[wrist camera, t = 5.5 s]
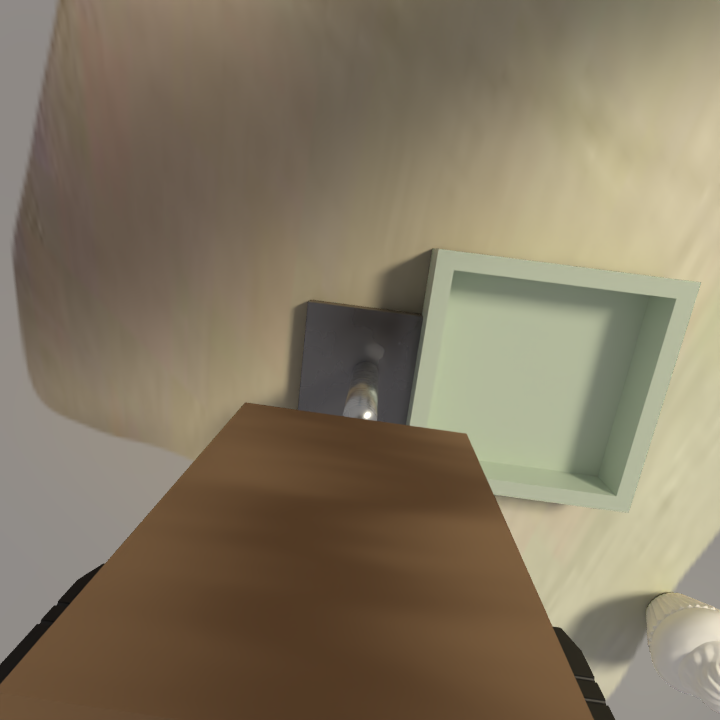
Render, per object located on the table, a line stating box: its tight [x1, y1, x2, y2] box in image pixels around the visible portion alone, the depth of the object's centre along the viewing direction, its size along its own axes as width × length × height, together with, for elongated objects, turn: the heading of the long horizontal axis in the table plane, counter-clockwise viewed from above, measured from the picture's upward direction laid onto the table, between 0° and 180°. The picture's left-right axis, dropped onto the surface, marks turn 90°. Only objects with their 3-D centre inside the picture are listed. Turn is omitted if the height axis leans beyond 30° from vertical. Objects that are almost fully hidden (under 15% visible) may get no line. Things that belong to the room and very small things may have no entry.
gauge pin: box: [298, 300, 423, 425], centre depth 24 cm, size 8×8×9 cm
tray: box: [406, 249, 701, 513], centre depth 27 cm, size 14×14×3 cm
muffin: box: [646, 592, 720, 713], centre depth 29 cm, size 6×6×7 cm
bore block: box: [0, 403, 594, 720], centre depth 9 cm, size 6×6×8 cm
